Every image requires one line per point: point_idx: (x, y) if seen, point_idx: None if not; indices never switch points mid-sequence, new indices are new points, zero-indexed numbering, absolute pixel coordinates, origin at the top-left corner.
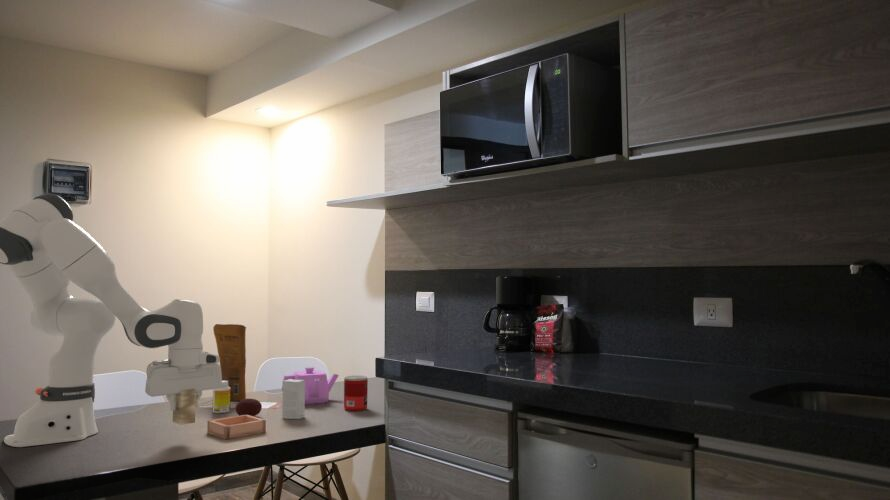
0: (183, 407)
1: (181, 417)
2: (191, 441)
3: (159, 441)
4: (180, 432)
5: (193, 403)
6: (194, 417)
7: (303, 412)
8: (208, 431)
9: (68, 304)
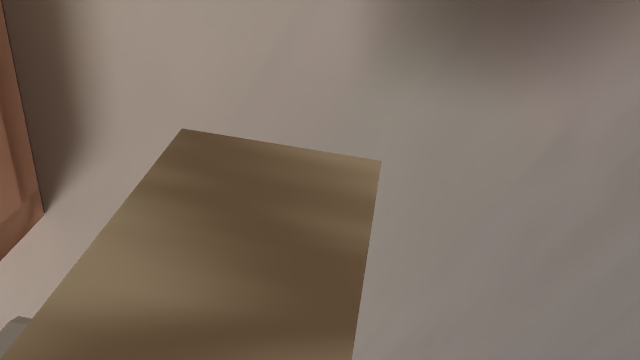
0: (306, 332)
1: (361, 221)
2: (258, 87)
3: (427, 284)
4: None
5: (71, 334)
6: (163, 167)
7: None
8: (32, 207)
9: None
